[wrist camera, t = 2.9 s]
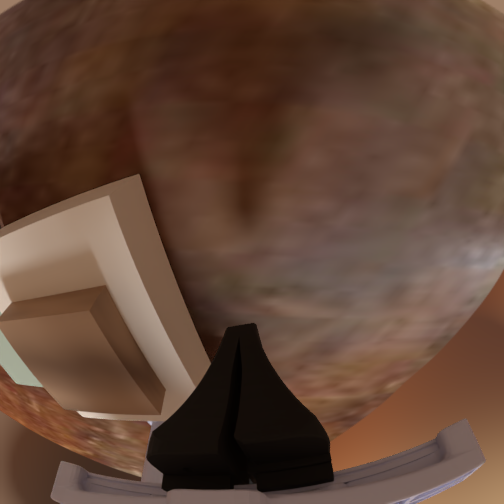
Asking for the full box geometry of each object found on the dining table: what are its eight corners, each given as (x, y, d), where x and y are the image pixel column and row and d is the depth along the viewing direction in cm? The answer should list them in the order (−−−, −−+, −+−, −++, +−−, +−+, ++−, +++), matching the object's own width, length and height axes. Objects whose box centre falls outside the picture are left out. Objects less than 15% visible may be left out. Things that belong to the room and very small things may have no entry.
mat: (94, 386, 23) (92, 390, 22) (17, 380, 23) (16, 383, 23) (-2, 222, 15) (-6, 224, 15) (-60, 255, 16) (-62, 258, 15)
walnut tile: (165, 389, 16) (160, 415, 15) (72, 388, 17) (64, 409, 15) (105, 284, 13) (89, 310, 11) (11, 302, 13) (-5, 322, 12)
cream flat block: (217, 377, 22) (214, 419, 18) (95, 383, 22) (82, 416, 19) (139, 173, 14) (108, 195, 11) (3, 226, 15) (-31, 252, 12)
